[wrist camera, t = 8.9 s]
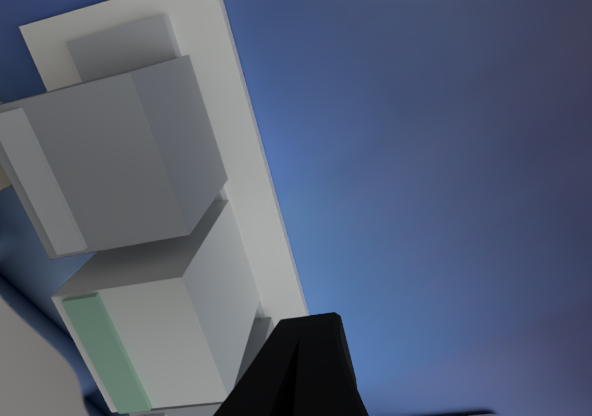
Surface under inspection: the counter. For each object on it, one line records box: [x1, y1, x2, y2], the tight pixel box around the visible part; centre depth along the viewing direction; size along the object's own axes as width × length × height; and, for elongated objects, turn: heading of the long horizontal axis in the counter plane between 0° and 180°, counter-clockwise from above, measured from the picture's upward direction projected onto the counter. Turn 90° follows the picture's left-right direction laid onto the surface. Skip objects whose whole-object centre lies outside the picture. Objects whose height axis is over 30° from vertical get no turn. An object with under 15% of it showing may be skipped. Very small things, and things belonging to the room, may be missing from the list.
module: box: [51, 200, 260, 414], centre depth 17 cm, size 5×4×6 cm
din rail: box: [0, 0, 309, 416], centre depth 18 cm, size 22×8×6 cm, turn 14°
